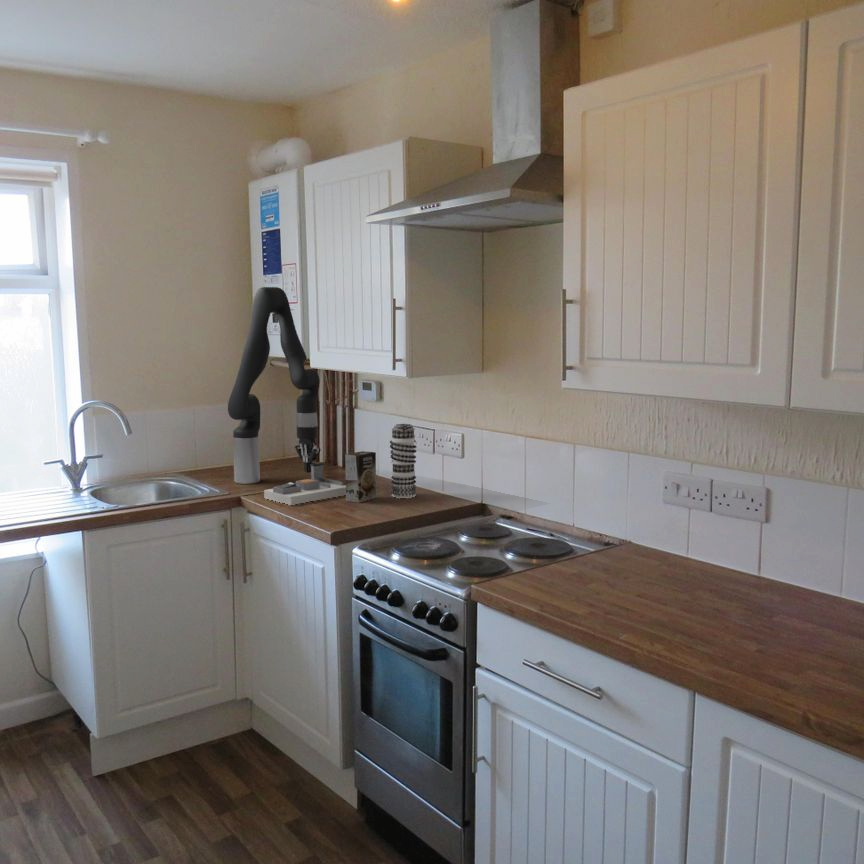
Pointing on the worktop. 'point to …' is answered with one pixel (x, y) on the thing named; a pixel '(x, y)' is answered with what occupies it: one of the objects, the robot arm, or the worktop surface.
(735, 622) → the worktop surface
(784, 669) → the worktop surface
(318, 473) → the slide paddle
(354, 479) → the coffee box
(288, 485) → the rocker switch
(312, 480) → the push button
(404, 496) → the decorative candle
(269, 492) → the control panel
